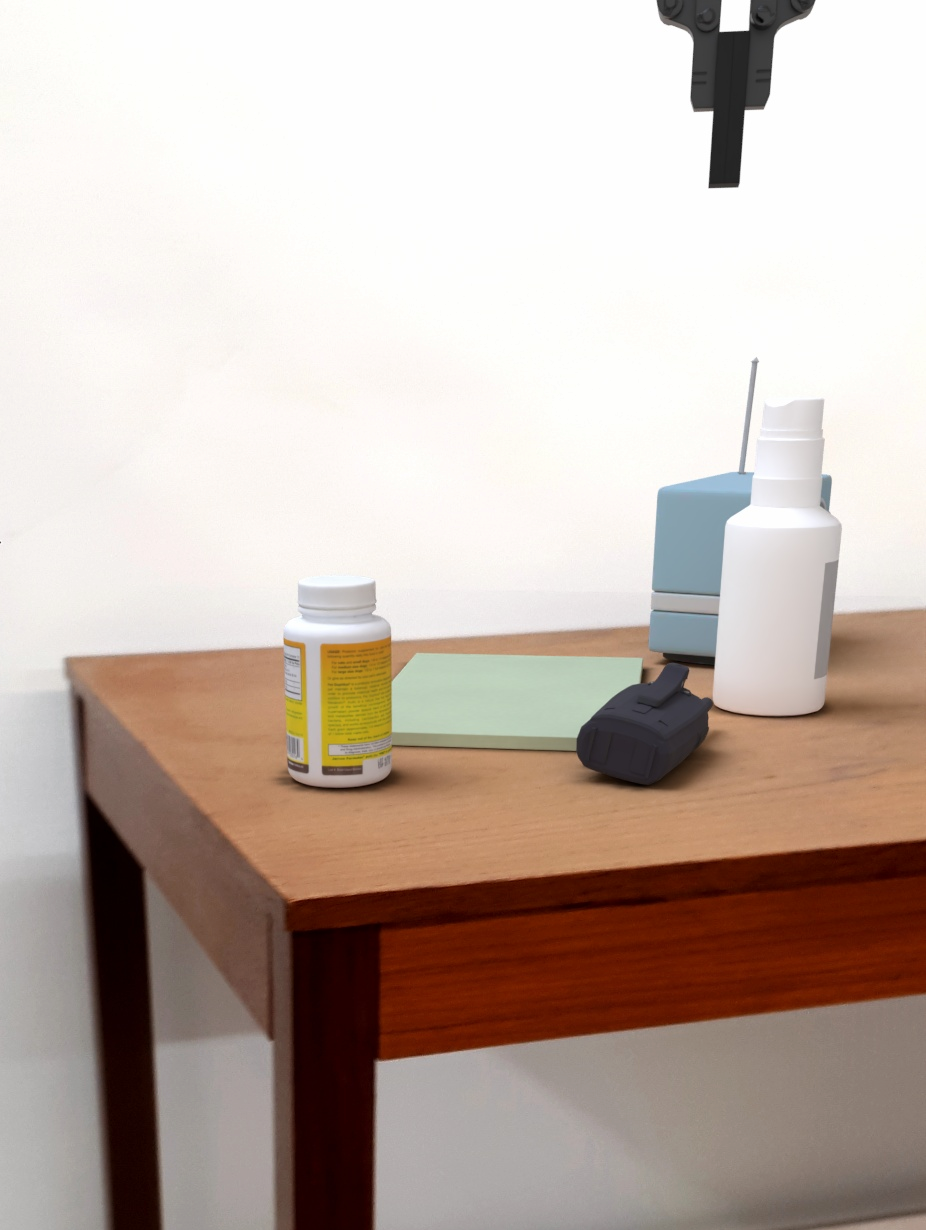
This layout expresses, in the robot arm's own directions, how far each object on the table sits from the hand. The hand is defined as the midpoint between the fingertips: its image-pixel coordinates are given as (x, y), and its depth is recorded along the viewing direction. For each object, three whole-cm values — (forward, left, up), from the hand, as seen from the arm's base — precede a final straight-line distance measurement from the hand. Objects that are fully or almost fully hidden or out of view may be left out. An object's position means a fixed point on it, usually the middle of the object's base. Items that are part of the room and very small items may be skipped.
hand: (723, 185), depth 83 cm
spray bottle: (-5, -12, -29) cm, 31 cm away
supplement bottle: (+18, +10, -29) cm, 35 cm away
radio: (-4, -32, -29) cm, 43 cm away
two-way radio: (+3, +10, -26) cm, 28 cm away
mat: (+11, -11, -28) cm, 32 cm away
